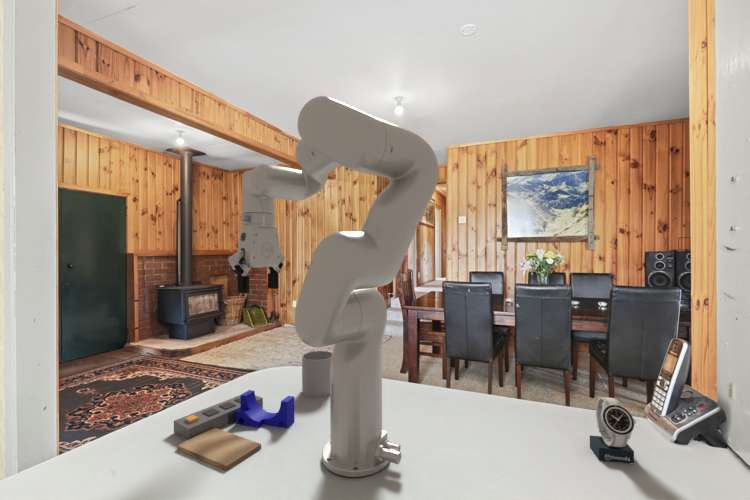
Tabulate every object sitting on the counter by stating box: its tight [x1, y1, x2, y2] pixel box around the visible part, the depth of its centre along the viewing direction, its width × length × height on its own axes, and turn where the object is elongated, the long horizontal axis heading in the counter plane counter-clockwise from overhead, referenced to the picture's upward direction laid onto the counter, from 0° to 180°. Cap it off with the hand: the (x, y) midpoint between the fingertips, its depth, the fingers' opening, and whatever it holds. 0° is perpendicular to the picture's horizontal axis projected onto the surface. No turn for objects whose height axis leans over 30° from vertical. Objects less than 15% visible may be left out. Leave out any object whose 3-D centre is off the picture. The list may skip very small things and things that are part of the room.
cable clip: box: [235, 389, 295, 429], centre depth 79 cm, size 12×4×6 cm, turn 72°
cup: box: [301, 350, 332, 398], centre depth 96 cm, size 8×8×10 cm
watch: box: [589, 396, 637, 464], centre depth 65 cm, size 6×8×11 cm
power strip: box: [173, 394, 264, 441], centre depth 81 cm, size 18×6×4 cm, turn 145°
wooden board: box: [176, 427, 262, 471], centre depth 69 cm, size 14×8×1 cm, turn 61°
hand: (258, 290), depth 89 cm, fingers open, 9 cm apart
